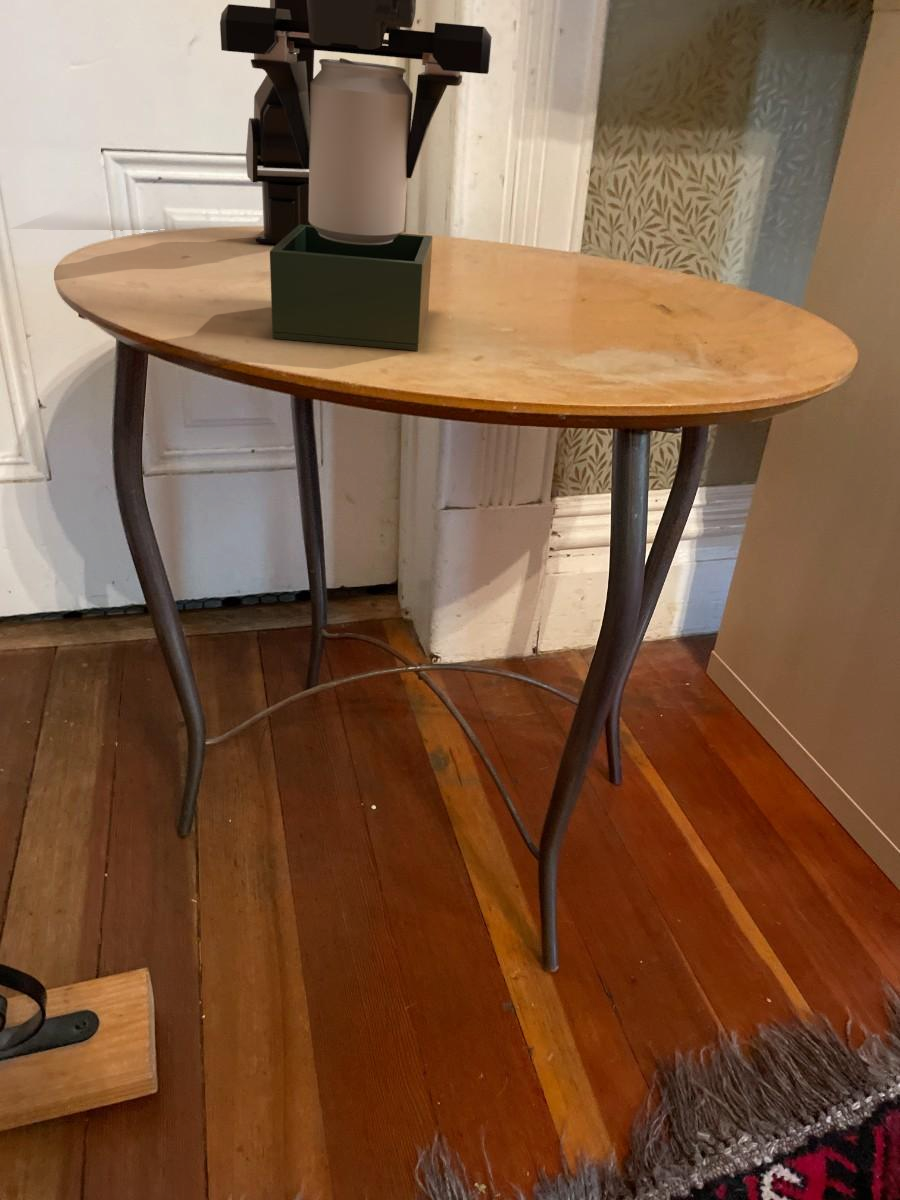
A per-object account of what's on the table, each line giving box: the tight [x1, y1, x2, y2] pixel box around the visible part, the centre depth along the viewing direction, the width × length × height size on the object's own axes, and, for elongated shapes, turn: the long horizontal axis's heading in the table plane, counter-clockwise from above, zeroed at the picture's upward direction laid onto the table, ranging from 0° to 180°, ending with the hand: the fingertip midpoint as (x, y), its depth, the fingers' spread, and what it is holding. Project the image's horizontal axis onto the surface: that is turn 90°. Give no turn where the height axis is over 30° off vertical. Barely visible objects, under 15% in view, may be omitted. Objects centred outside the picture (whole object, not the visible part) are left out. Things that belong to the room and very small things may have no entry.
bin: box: [269, 224, 433, 352], centre depth 72 cm, size 11×11×6 cm
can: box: [308, 57, 414, 245], centre depth 67 cm, size 8×8×12 cm
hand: (357, 173), depth 68 cm, fingers closed on can, 7 cm apart
